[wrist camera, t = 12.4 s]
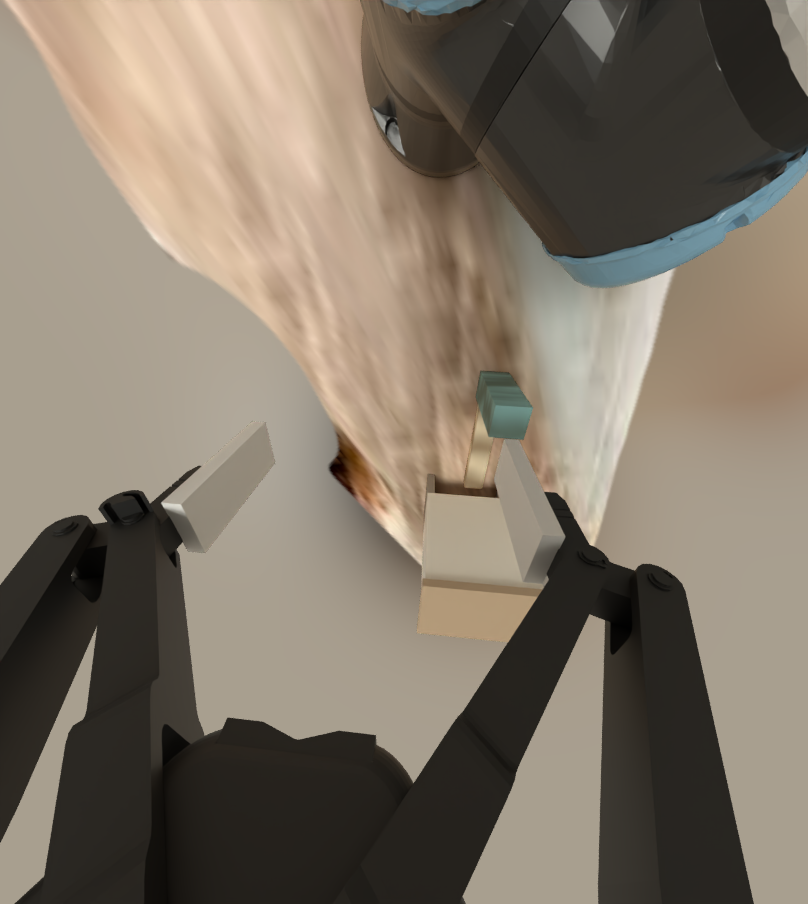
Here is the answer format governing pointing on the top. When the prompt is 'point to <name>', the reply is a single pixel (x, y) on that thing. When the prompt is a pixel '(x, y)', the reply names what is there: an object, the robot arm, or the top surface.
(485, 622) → the cupboard
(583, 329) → the top surface
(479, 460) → the teal mallet
